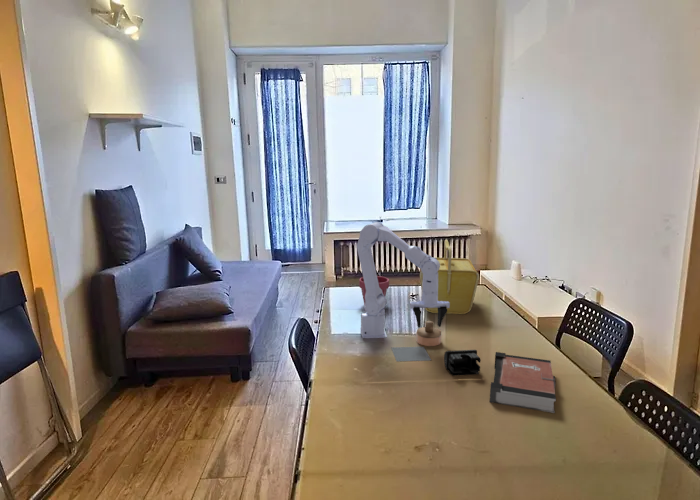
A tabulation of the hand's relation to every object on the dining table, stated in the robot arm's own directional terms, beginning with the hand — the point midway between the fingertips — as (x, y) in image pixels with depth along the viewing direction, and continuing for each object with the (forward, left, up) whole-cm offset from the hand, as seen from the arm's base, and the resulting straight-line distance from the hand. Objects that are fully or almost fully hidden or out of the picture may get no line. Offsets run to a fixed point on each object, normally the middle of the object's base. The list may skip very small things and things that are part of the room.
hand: (429, 326), depth 171 cm
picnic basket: (+19, +45, -7) cm, 49 cm away
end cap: (+5, -25, -7) cm, 26 cm away
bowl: (0, 0, -6) cm, 6 cm away
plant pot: (-15, +48, -6) cm, 51 cm away
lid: (0, 0, -3) cm, 3 cm away
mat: (-9, -11, -6) cm, 16 cm away
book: (+20, -36, -7) cm, 42 cm away
